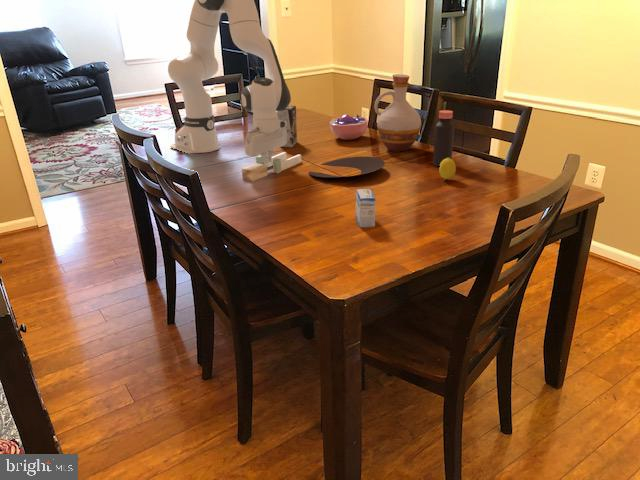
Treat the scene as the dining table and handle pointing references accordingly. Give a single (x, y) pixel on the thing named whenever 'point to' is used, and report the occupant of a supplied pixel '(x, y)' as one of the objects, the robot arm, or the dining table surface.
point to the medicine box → (365, 208)
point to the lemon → (447, 168)
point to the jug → (398, 118)
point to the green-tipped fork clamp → (280, 161)
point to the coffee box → (289, 124)
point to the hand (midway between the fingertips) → (267, 162)
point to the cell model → (349, 126)
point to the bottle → (443, 137)
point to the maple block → (254, 171)
